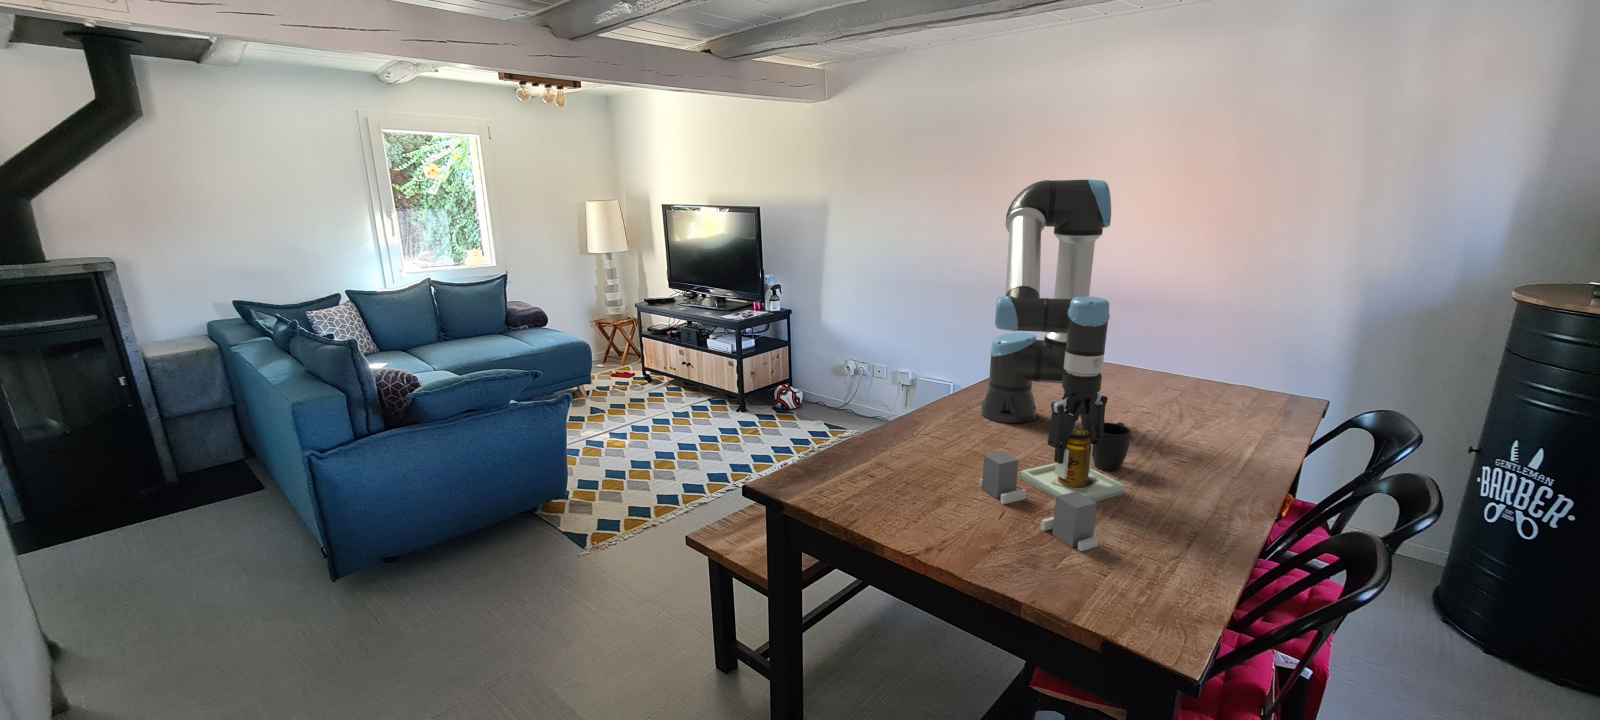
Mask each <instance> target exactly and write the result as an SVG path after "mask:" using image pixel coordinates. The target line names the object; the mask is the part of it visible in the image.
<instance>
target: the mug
mask: <svg viewBox="0 0 1600 720" xmlns="http://www.w3.org/2000/svg"><path fill="white" fill-rule="evenodd" d="M1096 432H1097V433H1098V431H1096ZM1131 435H1132V430H1131V429H1130V428H1129V427H1128V426H1126V425H1125V424H1124V423H1123V422H1121V421H1120V422H1117V423H1114V422H1104V434H1103V439H1101V440H1100V439H1098V441H1100V442H1099V444H1098V445H1094V454H1093V456H1092V461H1093V465H1094V467H1095V468H1096V469H1099V470H1101V471H1104V472H1105V471H1106V472H1118V471H1120V470H1121V467H1122V466H1123V464H1124V461H1125V459H1126V457H1127V454H1128V451H1129V449H1130V445H1131V438H1132V437H1131Z"/></svg>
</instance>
